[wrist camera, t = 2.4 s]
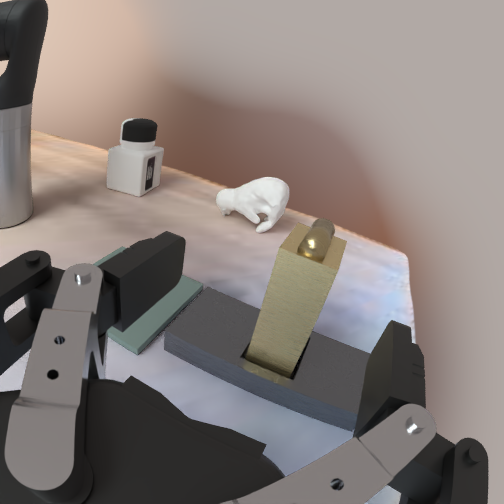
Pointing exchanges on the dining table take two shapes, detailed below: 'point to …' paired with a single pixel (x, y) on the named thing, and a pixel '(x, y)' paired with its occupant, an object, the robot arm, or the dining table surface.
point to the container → (135, 159)
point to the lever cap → (295, 295)
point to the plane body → (258, 378)
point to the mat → (154, 313)
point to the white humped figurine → (256, 201)
